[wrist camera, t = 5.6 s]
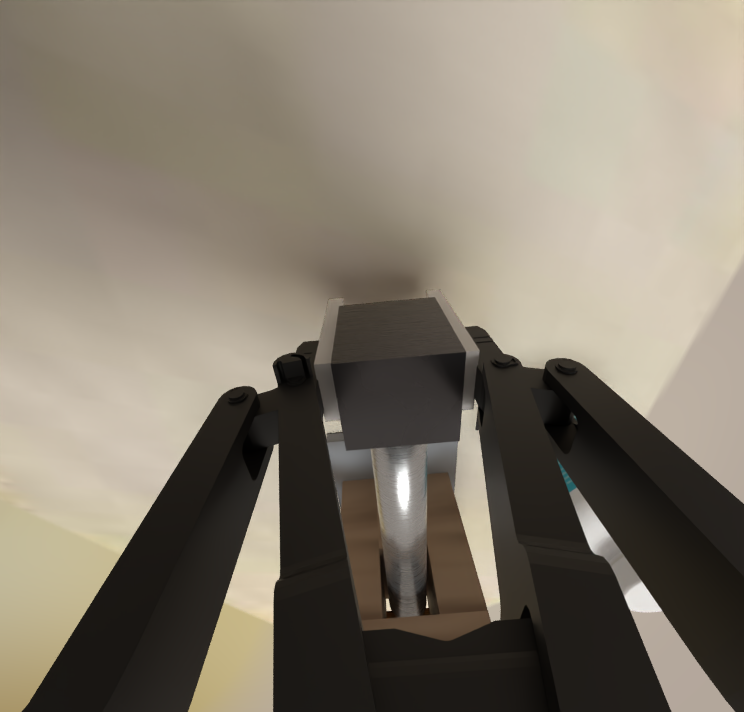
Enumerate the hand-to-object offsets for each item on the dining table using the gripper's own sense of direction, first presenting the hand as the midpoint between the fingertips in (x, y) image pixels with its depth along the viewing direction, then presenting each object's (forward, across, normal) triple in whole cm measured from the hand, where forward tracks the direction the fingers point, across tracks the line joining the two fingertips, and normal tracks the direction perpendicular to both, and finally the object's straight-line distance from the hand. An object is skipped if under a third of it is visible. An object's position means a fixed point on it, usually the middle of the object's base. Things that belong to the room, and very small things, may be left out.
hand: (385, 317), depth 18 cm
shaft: (-2, 0, -10) cm, 10 cm away
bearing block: (+4, 0, -23) cm, 24 cm away
